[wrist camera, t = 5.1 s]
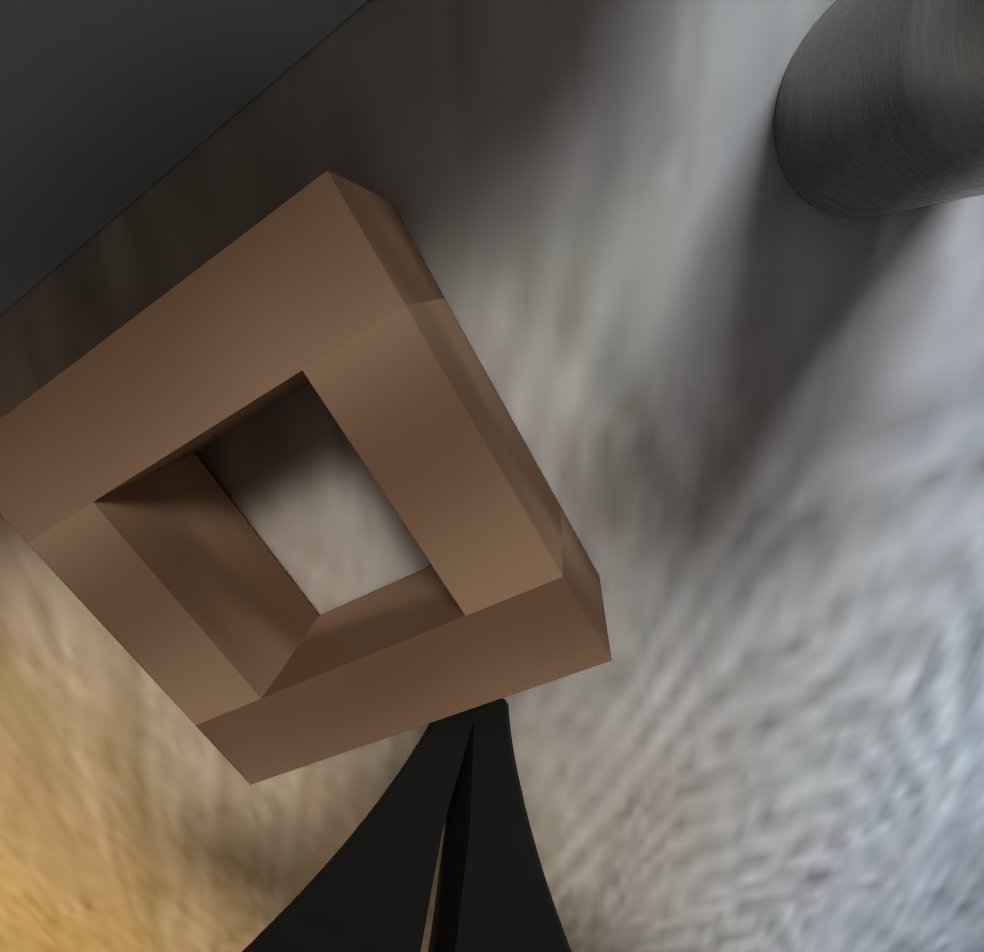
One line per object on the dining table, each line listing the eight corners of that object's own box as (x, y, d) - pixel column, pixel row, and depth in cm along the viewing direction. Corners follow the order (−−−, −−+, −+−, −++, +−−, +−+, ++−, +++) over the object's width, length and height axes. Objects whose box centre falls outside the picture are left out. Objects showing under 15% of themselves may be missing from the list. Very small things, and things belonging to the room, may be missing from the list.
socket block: (599, 575, 10) (611, 660, 8) (305, 691, 13) (250, 784, 10) (390, 200, 8) (326, 170, 6) (82, 418, 11) (-52, 458, 8)
